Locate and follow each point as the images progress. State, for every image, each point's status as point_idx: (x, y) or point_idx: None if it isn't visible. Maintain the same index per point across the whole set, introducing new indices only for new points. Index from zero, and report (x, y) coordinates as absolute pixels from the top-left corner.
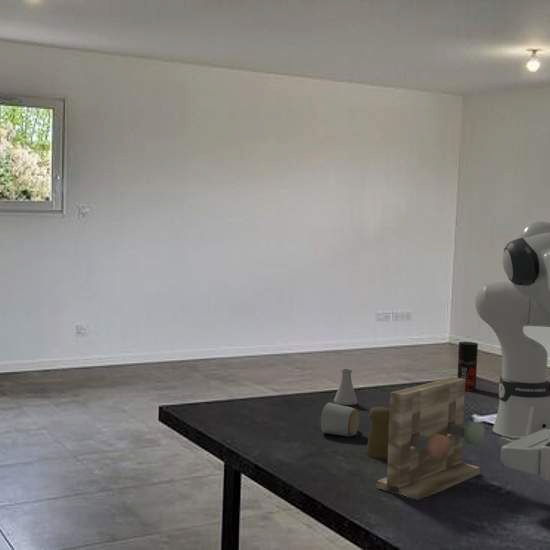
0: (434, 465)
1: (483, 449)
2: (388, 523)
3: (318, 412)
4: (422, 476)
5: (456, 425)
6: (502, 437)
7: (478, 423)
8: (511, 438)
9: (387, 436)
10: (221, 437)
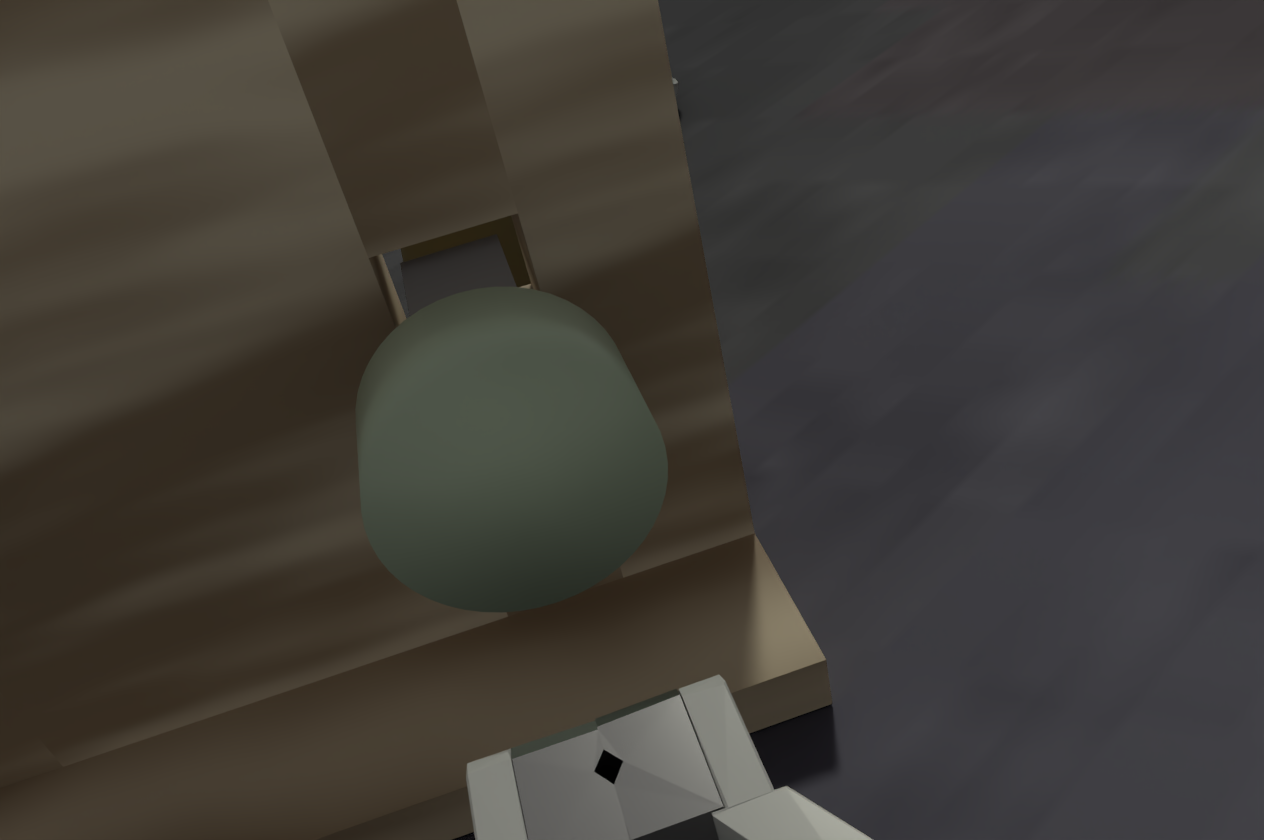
0: (296, 631)
1: (1248, 306)
2: None
3: (699, 8)
4: (132, 731)
5: (435, 297)
6: (523, 775)
7: (474, 353)
8: (720, 827)
9: (457, 231)
10: None
